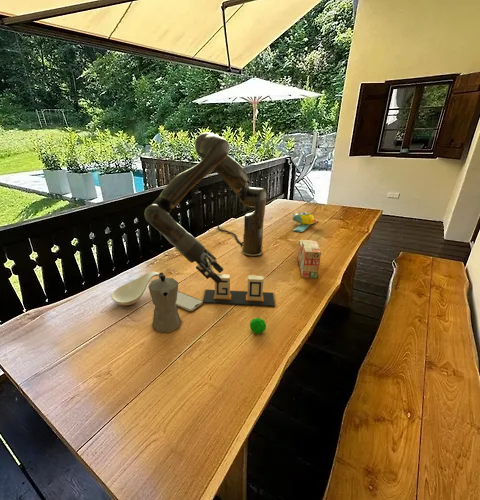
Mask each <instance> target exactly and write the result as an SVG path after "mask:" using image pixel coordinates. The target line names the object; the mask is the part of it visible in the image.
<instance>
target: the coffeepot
mask: <svg viewBox="0 0 480 500" xmlns="http://www.w3.org/2000/svg"><path fill="white" fill-rule="evenodd" d="M147 287H148V290H149V294H150V298H151V301H152V304H153V305H154V308H153V316H152V317H153V318H152V327H153V328H154V329H155V330H156V331H157V332H160V333H169V332H173V331H175V330H177V329H178V328H179V327H180V323H181V317H180V314H179V313H180V312H179V310H178V306H176V304H175V303H176V301H177V291H178V292H179V290H178V289H179V281H177V280H176V279H174V278H173V277H166V275H165V274H164V272H162V271H161V272H159V276H158V278H156V279H152V280H151V281H150V283H148V285H147Z"/></svg>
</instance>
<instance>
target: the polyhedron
mask: <svg viewBox="0 0 480 500" xmlns="http://www.w3.org/2000/svg"><path fill="white" fill-rule="evenodd" d="M249 329H250V330H251V332H252V333H254V334H255V335H259V334H263V333H264V332H265V331H266V329H267V324H266V321H265V320H264V319H263V318H261V317H256V318H255V317H254V318H252V320H251V321H250V322H249Z"/></svg>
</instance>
